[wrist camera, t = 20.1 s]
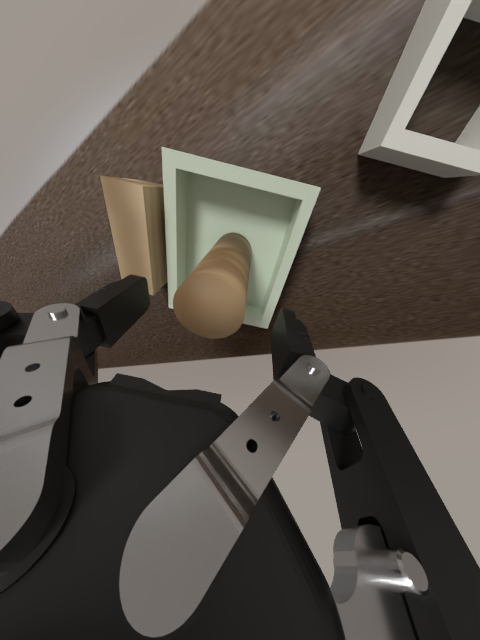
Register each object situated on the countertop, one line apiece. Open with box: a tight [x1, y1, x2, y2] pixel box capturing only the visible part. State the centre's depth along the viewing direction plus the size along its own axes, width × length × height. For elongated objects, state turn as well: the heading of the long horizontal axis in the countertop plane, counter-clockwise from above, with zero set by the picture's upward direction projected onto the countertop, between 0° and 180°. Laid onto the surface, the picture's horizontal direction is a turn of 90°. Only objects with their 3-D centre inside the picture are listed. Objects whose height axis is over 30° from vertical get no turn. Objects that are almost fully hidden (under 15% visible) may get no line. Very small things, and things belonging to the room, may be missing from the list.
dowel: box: [173, 232, 252, 339], centre depth 15 cm, size 4×4×12 cm
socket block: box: [358, 0, 480, 178], centre depth 12 cm, size 8×8×4 cm
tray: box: [162, 147, 321, 329], centre depth 19 cm, size 12×14×4 cm
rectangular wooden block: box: [100, 176, 168, 295], centre depth 18 cm, size 3×9×6 cm, turn 169°
